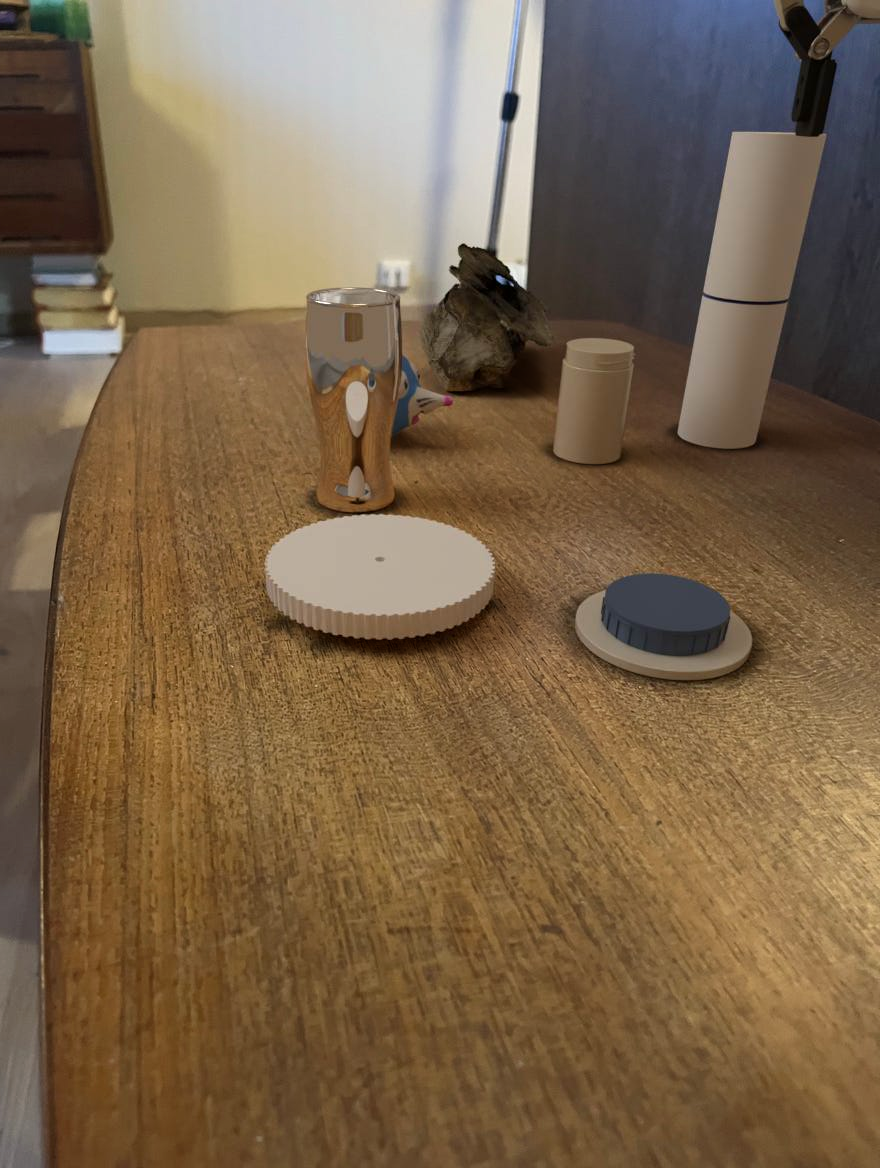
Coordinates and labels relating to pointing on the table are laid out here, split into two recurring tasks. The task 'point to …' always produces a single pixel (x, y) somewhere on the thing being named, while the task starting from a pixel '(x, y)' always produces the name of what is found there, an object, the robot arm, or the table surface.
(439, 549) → the plastic lid
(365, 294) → the beer glass
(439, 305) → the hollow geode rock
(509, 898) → the table surface
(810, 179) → the cylindrical container
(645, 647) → the lid
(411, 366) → the blue toy animal
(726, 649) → the coaster
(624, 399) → the jar
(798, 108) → the robot arm
